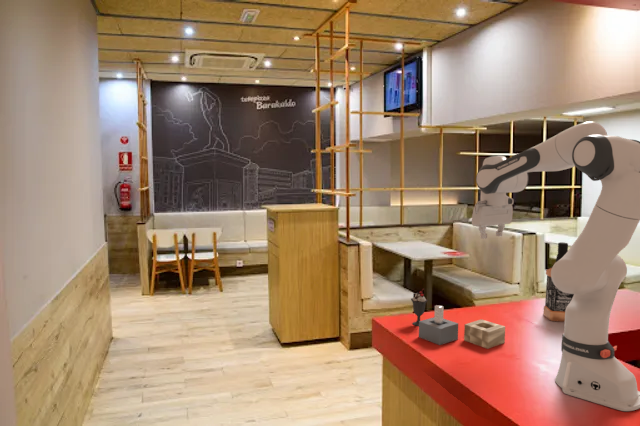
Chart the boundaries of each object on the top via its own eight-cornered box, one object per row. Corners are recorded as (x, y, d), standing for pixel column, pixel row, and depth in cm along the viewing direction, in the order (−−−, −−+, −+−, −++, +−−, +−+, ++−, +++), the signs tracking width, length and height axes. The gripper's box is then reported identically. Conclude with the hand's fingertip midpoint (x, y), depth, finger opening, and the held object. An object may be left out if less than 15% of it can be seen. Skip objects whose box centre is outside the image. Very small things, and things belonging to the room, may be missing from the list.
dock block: (457, 339, 176) (458, 323, 175) (439, 345, 170) (440, 328, 169) (436, 331, 184) (436, 316, 183) (418, 337, 178) (419, 321, 177)
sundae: (427, 327, 189) (428, 290, 187) (410, 326, 190) (410, 289, 188) (427, 322, 195) (428, 286, 194) (410, 321, 196) (411, 285, 195)
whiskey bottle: (550, 321, 197) (554, 244, 193) (542, 314, 206) (546, 240, 203) (577, 322, 195) (581, 245, 192) (568, 315, 205) (572, 241, 202)
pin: (444, 338, 177) (445, 306, 175) (438, 340, 175) (439, 308, 174) (437, 336, 179) (438, 304, 178) (432, 337, 177) (432, 306, 176)
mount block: (504, 342, 173) (505, 326, 172) (487, 348, 167) (488, 332, 166) (480, 334, 181) (481, 319, 180) (464, 340, 175) (464, 324, 174)
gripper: (483, 201, 168) (481, 240, 169) (516, 199, 180) (514, 236, 181) (468, 200, 173) (466, 238, 174) (501, 198, 185) (499, 234, 186)
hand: (491, 237), depth 178 cm, fingers open, 8 cm apart
